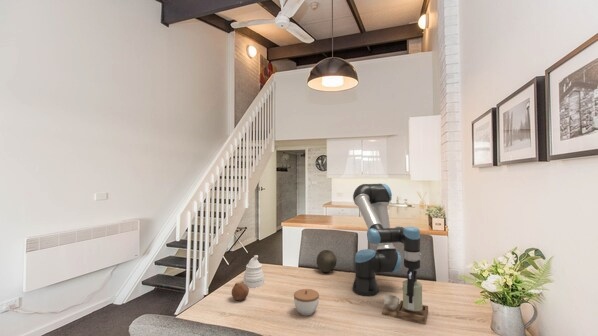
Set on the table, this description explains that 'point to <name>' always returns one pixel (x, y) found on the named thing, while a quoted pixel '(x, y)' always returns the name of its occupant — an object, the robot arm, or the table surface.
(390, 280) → the table surface
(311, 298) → the lidded bowl
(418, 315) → the caddy
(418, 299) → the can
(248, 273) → the honey pot
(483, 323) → the table surface
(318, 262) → the cantaloupe
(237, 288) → the onion
